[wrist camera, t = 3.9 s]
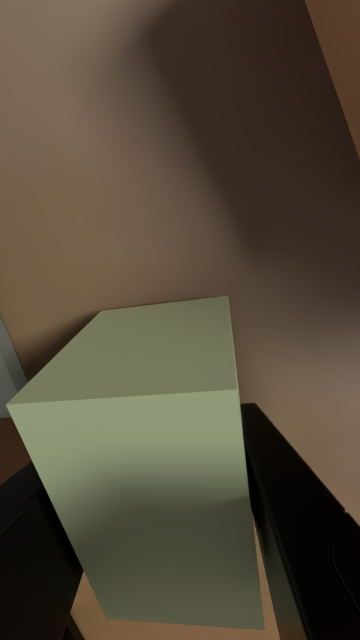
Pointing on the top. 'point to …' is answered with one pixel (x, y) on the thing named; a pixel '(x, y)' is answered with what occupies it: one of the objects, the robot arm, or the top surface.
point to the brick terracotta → (341, 53)
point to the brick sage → (150, 463)
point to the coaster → (9, 372)
